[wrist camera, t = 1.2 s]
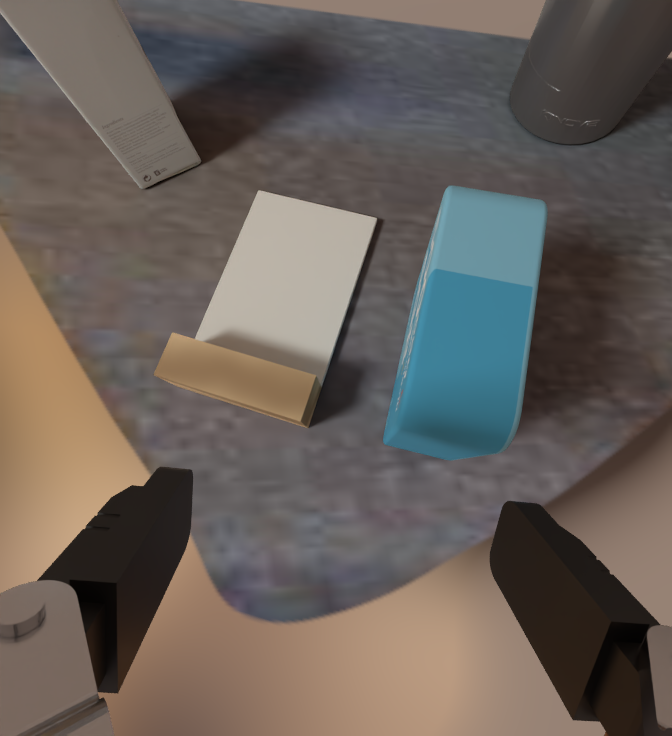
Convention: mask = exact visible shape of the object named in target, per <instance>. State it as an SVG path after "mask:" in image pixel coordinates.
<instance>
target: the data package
mask: <svg viewBox="0 0 672 736" xmlns="http://www.w3.org/2000/svg"><path fill="white" fill-rule="evenodd" d="M547 213H548V212H547V205H546V203H545V202H544V201H542V200H539V199H532V198H526V197H520V196H514V195H508V194H502V193H496V192H489V191H483V190H477V189H471V188H465V187H459V186H449V187H447V189H446V190H445V193H444V196H443V199H442V202H441V205H440V209H439V212H438V215H437V219H436V222H435V225H434V229H433V232H432V235H431V239H430V242H429V245H428V249H427V252H426V255H425V259H424V262H423V265H422V269H421V272H420V275H419V279H418V282H417V286H416V290H415V294H414V298H413V302H412V307H411V311H410V316H409V320H408V325H407V330H406V334H405V339H404V343H403V348H402V353H401V357H400V362H399V366H398V371H397V376H396V380H395V385H394V389H393V394H392V399H391V403H390V408H389V413H388V417H387V422H386V427H385V432H384V437H383V442H384V444H386V445H389V446H393V447H397V448H401V449H405V450H409V451H413V452H417V453H421V454H425V455H429V456H433V457H437V458H441V459H445V460H457V459H464V458H471V457H478V456H484V455H491V454H498V453H501V452H503V451H505V450H506V449H507V448H508V446H509V445H510V444H511V442H512V440H513V438H514V436H515V434H516V431H517V429H518V425H519V422H520V418H521V412H522V405H523V398H524V390H525V383H526V375H527V367H528V360H529V352H530V345H531V337H532V330H533V322H534V314H535V307H536V299H537V292H538V284H539V276H540V269H541V261H542V254H543V246H544V238H545V231H546V223H547Z"/></svg>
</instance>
